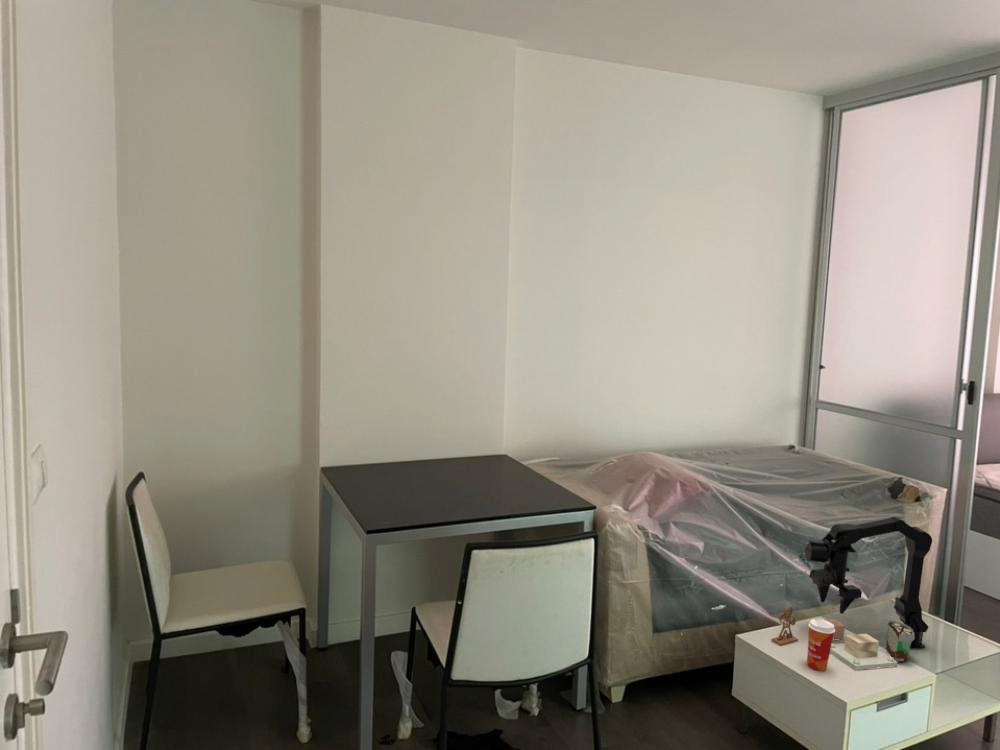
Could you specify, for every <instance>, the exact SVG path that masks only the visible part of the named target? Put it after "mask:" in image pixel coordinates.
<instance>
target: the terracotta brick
mask: <svg viewBox="0 0 1000 750" xmlns="http://www.w3.org/2000/svg"><path fill="white" fill-rule="evenodd" d="M822 620H825V621H828V622H830V623H832V624H833V625H834V629H835V632H834V634H833V639H834V640H833V639H832V641H836V640H835V639H843V640H844V638H845V629H846V625H845V624H842V623H841V622H840V621H838V620H837V619H835V618H829V619H828V618H827V619H822Z"/></svg>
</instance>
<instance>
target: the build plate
mask: <svg viewBox="0 0 1000 750" xmlns="http://www.w3.org/2000/svg"><path fill="white" fill-rule="evenodd" d="M844 648H845V642H844V643H842V642H841V643H833V642H832V644H831V649H830V654H831V655H832V656H833V657H835V658H836V657H837V658H836V659H838V660H840V661H841V662H842V663H843V664H845V665H846V666H848V667H849V666H850V667H849V668H851V669H853V670H854V671H864V670H863V669H867V670H873V669H872V668H877V667H889V666H890V667H889V668H892V667H891V666H897V667H898V664H899V663H898V662H897V661H895V660H894V658H893V657H890V656H889V655H887V654H885V653H884V652H883V651H880V650H879V649H878V654H877V657H866V658H855V657H854V656H852V655H851V654H849V653H848V652H846V651H845V650H844ZM870 668H871V669H870Z"/></svg>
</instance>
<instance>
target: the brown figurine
mask: <svg viewBox="0 0 1000 750" xmlns="http://www.w3.org/2000/svg"><path fill="white" fill-rule="evenodd" d="M793 611H794V610H793V607H791V606H790V605H789V606H788V605H787V606H786V607H785V608H784V610H783V612H781V613H779V614H778V620H779V622H780V623H782V629H781V630H780V632H779V635H778V636H777V637H773V638H771V639H770V642H772V643H773V644H775V645H777V646H779V647H783V646H786V645H790V644H794V643H798V642H799V638H798V637H796V636H794V635H793V632H792V628H791V626H795V625H796V622H797V621H796V617H795V616H794V615H792V614H793ZM791 618H792V620H790V619H791ZM782 619H784V620H785V621H782ZM787 629H788V630H787ZM788 631H789V632H788Z"/></svg>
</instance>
